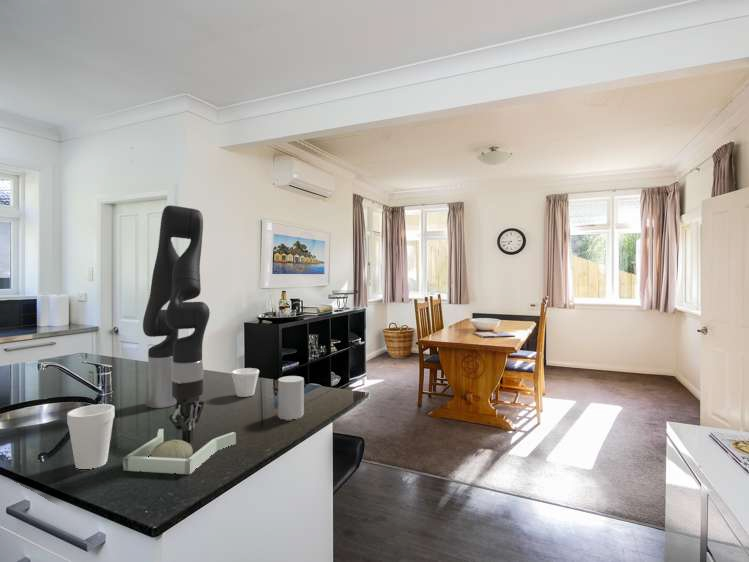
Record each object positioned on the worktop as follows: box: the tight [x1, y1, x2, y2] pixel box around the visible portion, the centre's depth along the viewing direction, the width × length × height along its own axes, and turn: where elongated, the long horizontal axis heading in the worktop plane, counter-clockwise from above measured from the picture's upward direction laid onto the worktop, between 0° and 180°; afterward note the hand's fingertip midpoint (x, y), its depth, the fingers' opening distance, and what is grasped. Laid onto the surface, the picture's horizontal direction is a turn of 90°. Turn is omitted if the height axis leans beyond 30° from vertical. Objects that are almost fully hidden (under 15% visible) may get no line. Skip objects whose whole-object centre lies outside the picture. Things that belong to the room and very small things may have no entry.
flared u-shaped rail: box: [122, 428, 237, 475], centre depth 105 cm, size 22×18×3 cm
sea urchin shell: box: [149, 439, 194, 459], centre depth 101 cm, size 9×8×8 cm
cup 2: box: [277, 375, 305, 421], centre depth 135 cm, size 8×8×12 cm
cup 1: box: [231, 367, 260, 398], centre depth 157 cm, size 10×10×9 cm
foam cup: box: [66, 403, 116, 470], centre depth 100 cm, size 10×9×13 cm
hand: (187, 442), depth 110 cm, fingers closed
